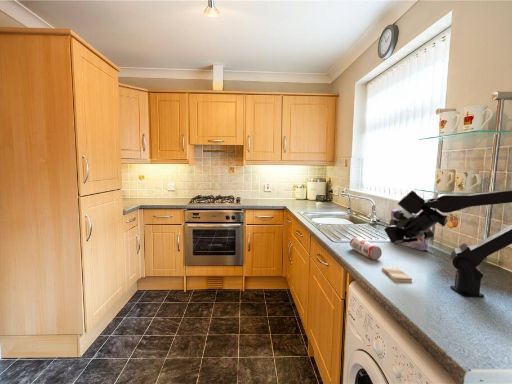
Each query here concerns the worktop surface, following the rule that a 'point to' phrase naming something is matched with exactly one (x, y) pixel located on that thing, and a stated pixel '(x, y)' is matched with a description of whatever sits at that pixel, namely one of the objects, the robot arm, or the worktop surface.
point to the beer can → (366, 248)
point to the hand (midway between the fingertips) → (395, 243)
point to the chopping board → (396, 274)
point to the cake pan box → (419, 244)
